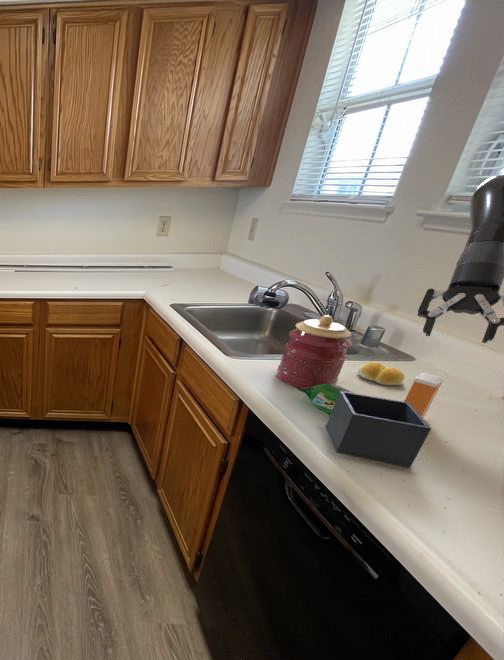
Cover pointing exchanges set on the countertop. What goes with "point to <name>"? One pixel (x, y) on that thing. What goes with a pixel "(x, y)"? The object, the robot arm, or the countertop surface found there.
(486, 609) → the countertop surface
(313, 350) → the kitchen canister
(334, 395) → the snack package
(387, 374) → the bread roll
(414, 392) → the drink carton
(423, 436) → the storage bin
